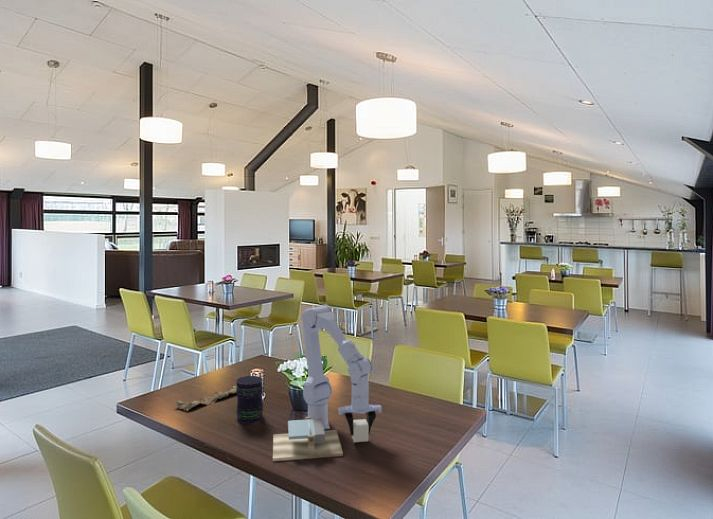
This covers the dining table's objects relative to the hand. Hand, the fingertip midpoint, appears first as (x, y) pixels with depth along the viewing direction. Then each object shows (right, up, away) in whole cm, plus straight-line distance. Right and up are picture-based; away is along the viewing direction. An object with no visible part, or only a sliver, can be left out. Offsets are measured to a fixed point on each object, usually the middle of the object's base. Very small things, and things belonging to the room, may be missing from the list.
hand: (359, 433), depth 158 cm
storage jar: (-42, -2, +20) cm, 46 cm away
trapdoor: (-18, 0, -3) cm, 18 cm away
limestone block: (0, -2, 0) cm, 2 cm away
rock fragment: (-61, -1, +42) cm, 74 cm away
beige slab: (-18, -3, -3) cm, 18 cm away
